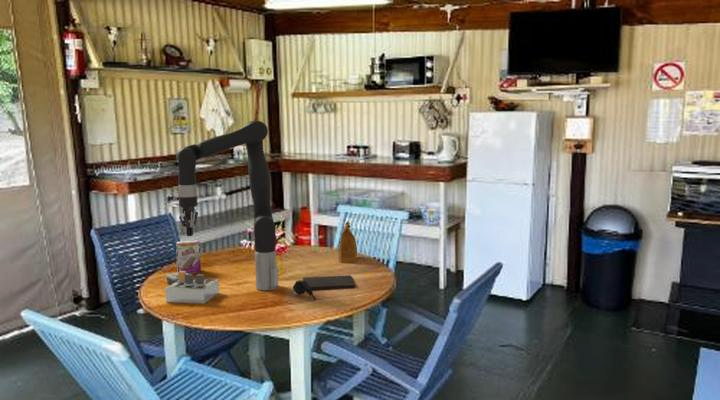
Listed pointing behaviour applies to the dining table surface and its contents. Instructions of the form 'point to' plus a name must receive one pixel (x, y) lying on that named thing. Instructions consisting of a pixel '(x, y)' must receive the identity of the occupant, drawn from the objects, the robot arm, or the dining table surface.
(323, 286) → the hardcover book
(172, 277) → the electrical switch
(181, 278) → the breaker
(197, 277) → the breaker left
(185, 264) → the candy bar box
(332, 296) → the dining table surface
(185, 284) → the breaker mid
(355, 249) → the coffee package
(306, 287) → the power plug
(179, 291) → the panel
